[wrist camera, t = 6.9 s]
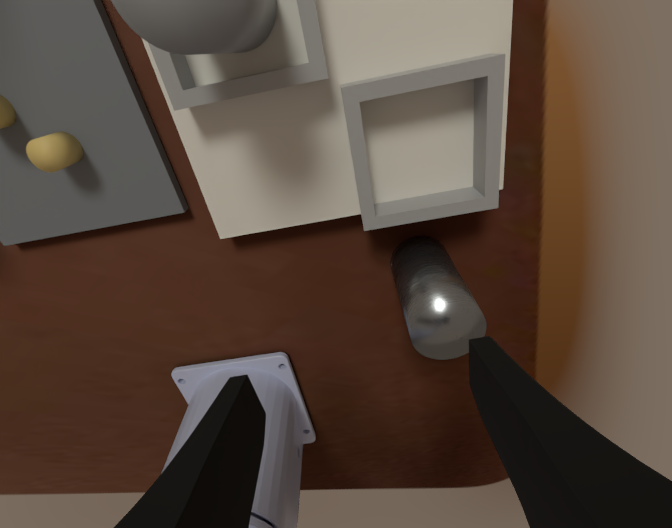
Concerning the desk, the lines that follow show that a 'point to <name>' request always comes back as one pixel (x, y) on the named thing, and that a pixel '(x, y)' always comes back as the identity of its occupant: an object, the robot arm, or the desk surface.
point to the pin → (435, 299)
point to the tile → (73, 126)
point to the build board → (334, 105)
